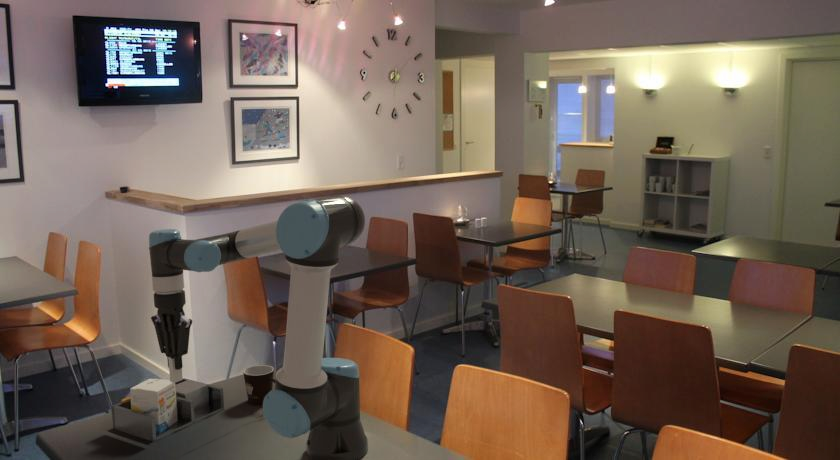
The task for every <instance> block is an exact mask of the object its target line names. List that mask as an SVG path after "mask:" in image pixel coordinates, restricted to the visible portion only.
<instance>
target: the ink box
mask: <svg viewBox="0 0 840 460" xmlns="http://www.w3.org/2000/svg"><path fill="white" fill-rule="evenodd" d="M129 392H130V393H129V395H130V396H129V397H131V410H133V411H137V412H140V413H143V414H146V415H150V416H153V417H155V427H156V433H158V434H160V433H162V432H163V431H164V430H166V429H167V428H169V427H170V426H172V425H173V424H174V423H176V422H177V421H178V417H177V402H176V387H175V383H173V382H170V379H164V378H163V379H162V378H161V379H160V378H148V379H146V380H144V381H142V382H140V383H138V384H137V385H134V386H132V387H131V388H130V389H129Z"/></svg>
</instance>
